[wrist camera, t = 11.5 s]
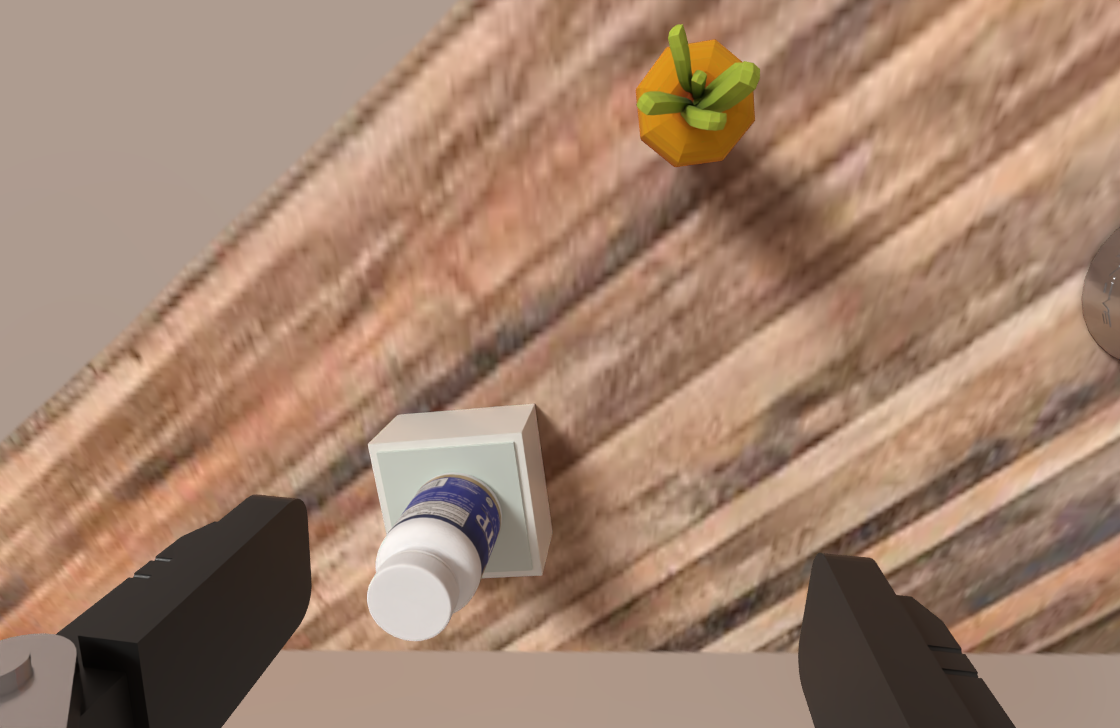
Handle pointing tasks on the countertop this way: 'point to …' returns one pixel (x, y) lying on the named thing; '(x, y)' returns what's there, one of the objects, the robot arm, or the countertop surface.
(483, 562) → the pill bottle
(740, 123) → the carrot
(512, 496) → the pedestal
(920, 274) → the countertop surface
